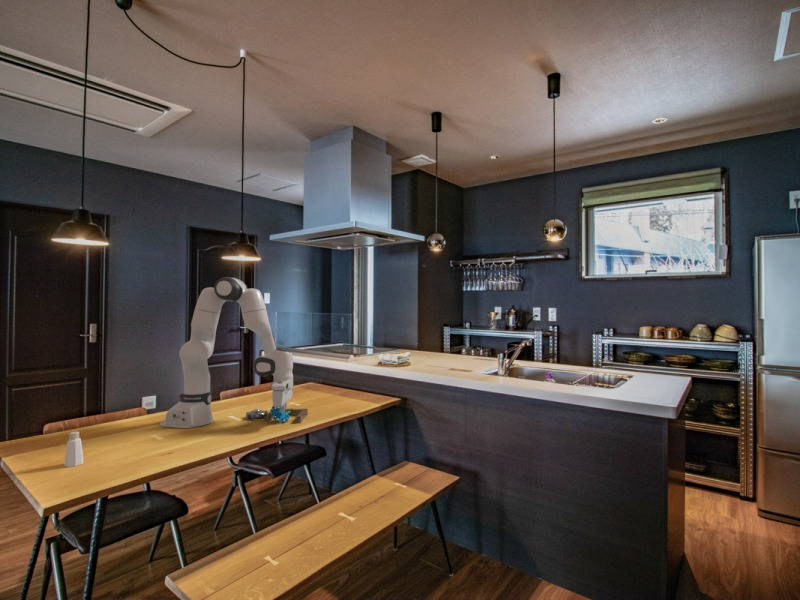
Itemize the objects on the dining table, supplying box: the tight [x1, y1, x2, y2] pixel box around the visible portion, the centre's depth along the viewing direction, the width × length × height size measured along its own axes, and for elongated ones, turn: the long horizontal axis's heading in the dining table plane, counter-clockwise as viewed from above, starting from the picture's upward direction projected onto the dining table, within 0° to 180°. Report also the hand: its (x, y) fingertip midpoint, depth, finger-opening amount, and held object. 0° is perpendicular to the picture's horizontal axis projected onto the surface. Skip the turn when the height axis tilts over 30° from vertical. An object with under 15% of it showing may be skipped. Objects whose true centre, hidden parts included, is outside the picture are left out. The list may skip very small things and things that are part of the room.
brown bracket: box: [263, 408, 309, 424], centre depth 204 cm, size 17×15×3 cm
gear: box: [269, 405, 291, 424], centre depth 200 cm, size 11×6×10 cm
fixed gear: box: [245, 408, 269, 421], centre depth 206 cm, size 10×10×4 cm
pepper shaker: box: [64, 431, 85, 468], centre depth 146 cm, size 5×5×11 cm
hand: (283, 412), depth 198 cm, fingers closed
